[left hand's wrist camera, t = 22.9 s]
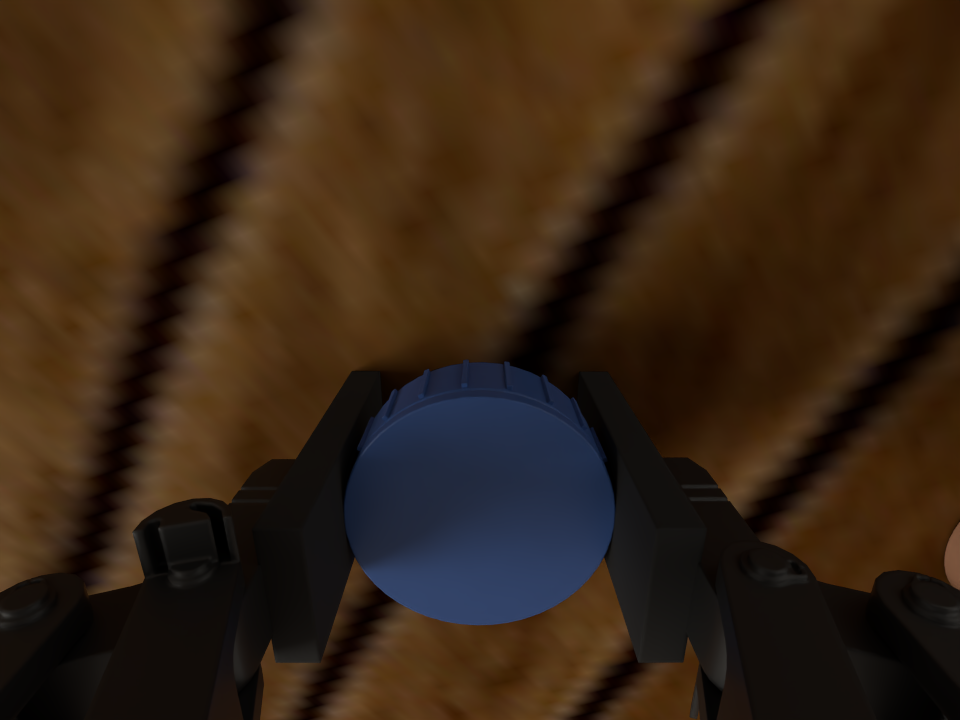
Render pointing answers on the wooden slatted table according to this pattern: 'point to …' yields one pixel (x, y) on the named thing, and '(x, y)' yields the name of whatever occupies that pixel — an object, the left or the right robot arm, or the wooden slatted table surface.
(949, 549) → the brown tall cylinder
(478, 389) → the lid
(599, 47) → the wooden slatted table surface
